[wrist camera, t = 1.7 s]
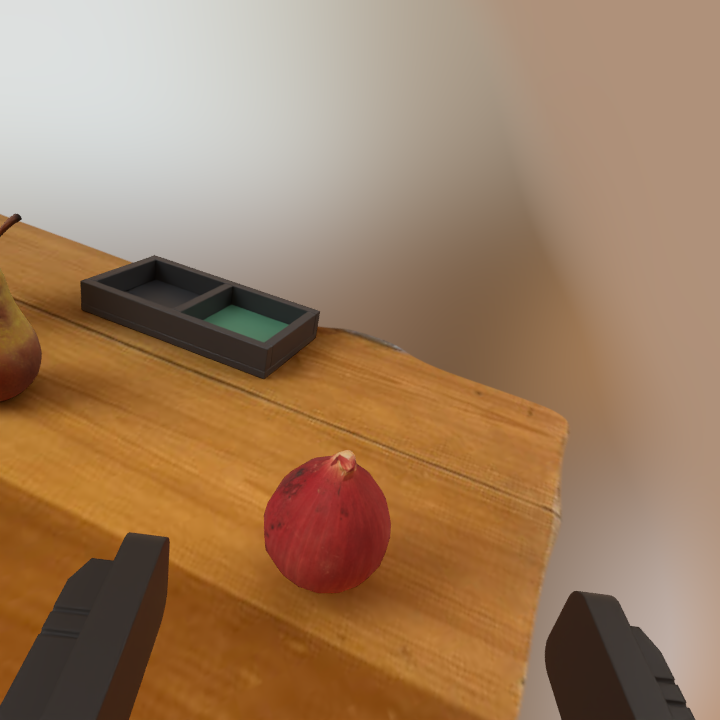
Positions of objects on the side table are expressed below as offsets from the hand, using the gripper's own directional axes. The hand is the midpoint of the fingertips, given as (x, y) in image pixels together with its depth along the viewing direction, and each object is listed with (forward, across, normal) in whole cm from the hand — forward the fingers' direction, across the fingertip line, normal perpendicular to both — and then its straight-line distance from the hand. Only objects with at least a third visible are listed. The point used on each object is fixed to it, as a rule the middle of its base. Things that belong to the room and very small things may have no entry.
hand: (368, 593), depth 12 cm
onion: (+12, 0, +14) cm, 19 cm away
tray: (+38, +11, +14) cm, 42 cm away
